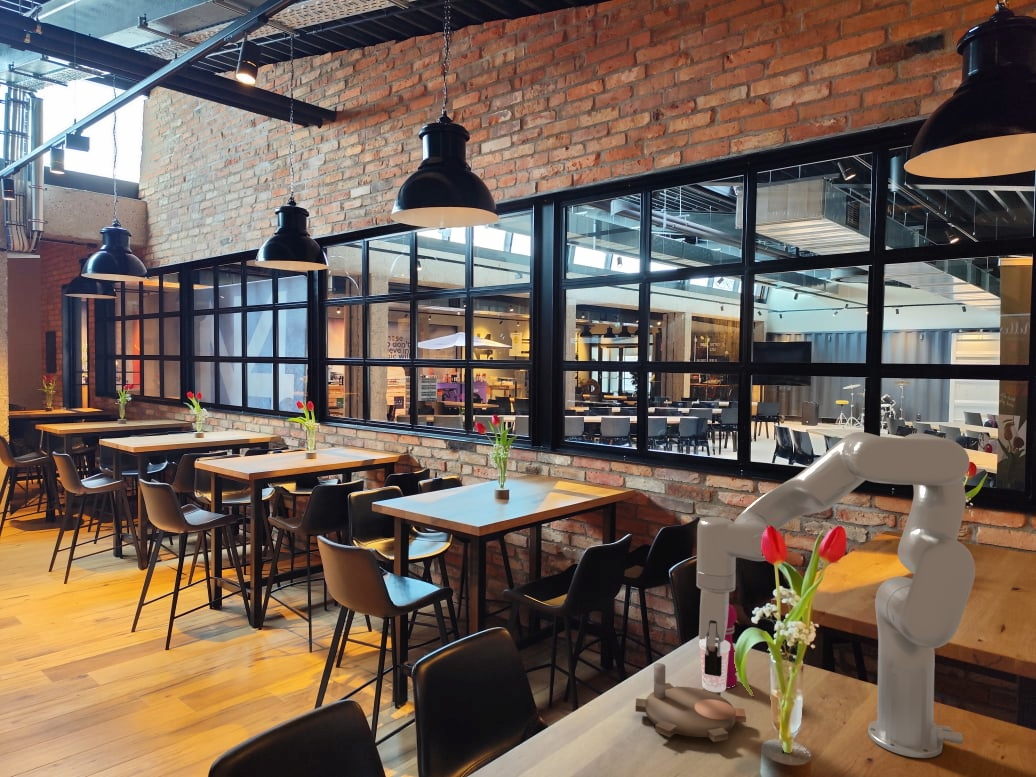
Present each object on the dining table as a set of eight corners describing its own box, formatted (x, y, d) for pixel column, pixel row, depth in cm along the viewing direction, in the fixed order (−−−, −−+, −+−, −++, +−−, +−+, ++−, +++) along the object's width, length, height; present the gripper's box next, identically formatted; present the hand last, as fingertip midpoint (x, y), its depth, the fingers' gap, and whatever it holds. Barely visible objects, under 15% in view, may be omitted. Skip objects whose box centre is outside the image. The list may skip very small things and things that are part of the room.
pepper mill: (732, 692, 152) (733, 604, 152) (701, 683, 157) (702, 597, 156) (743, 681, 158) (744, 595, 158) (713, 672, 163) (713, 589, 162)
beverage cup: (707, 695, 134) (708, 625, 134) (693, 681, 141) (694, 614, 140) (735, 692, 136) (736, 623, 135) (720, 678, 142) (721, 612, 141)
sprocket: (671, 679, 155) (671, 645, 155) (759, 709, 141) (760, 672, 141) (618, 716, 139) (618, 678, 139) (711, 754, 125) (712, 712, 125)
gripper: (701, 566, 147) (700, 648, 147) (691, 590, 131) (690, 683, 131) (737, 570, 144) (736, 654, 145) (732, 595, 128) (731, 689, 129)
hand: (714, 666), depth 138 cm, fingers closed on beverage cup, 6 cm apart
